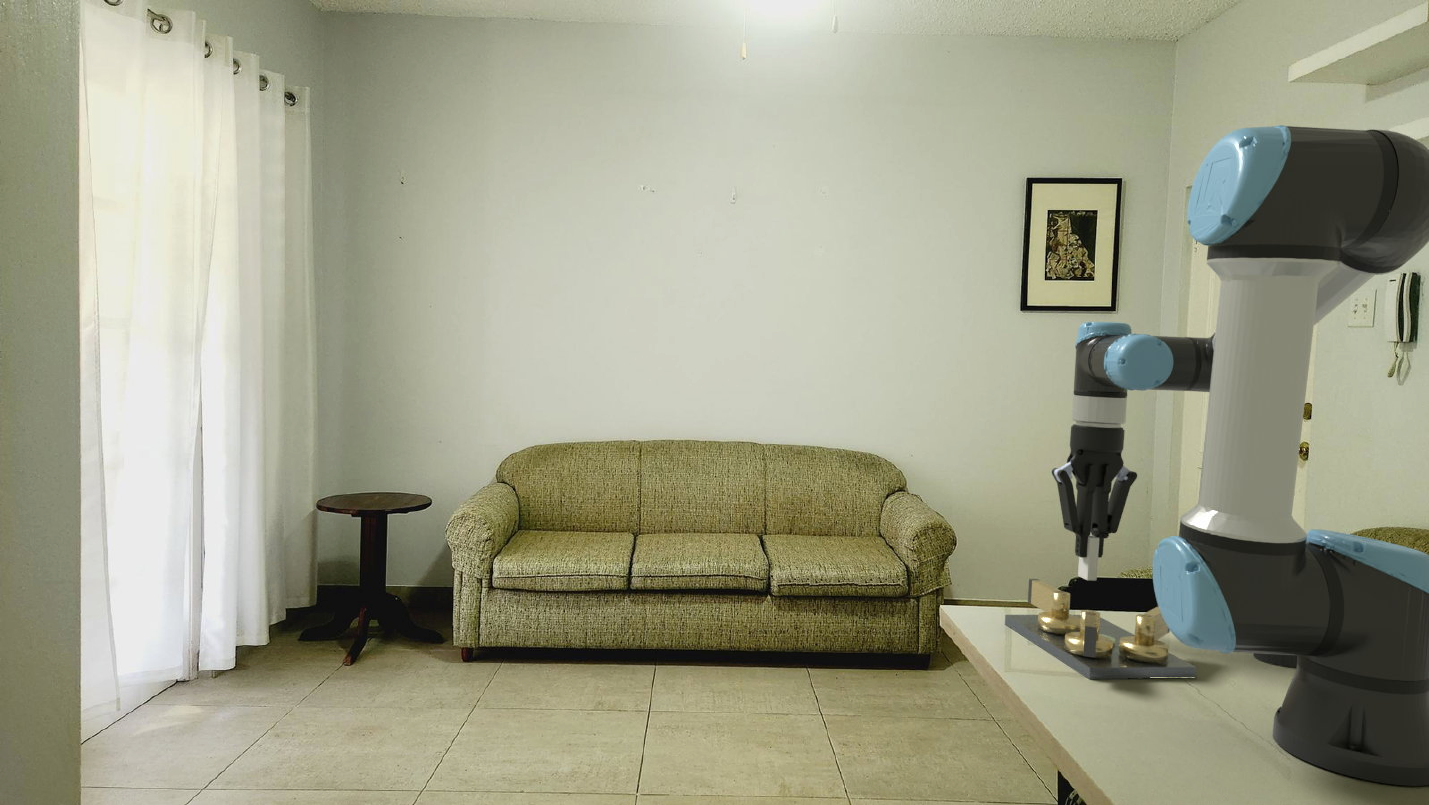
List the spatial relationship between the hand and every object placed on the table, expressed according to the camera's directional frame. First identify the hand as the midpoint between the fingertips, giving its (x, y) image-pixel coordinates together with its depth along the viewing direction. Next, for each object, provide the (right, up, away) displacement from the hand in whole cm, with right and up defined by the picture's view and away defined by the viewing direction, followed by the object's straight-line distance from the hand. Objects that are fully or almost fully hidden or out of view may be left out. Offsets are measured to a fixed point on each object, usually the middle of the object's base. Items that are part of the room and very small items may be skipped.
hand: (1087, 578), depth 141 cm
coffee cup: (+23, -10, -11) cm, 27 cm away
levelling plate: (-3, -8, -9) cm, 13 cm away
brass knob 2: (-7, -7, -19) cm, 21 cm away
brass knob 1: (-7, -6, -3) cm, 10 cm away
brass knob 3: (+2, -7, -15) cm, 17 cm away
